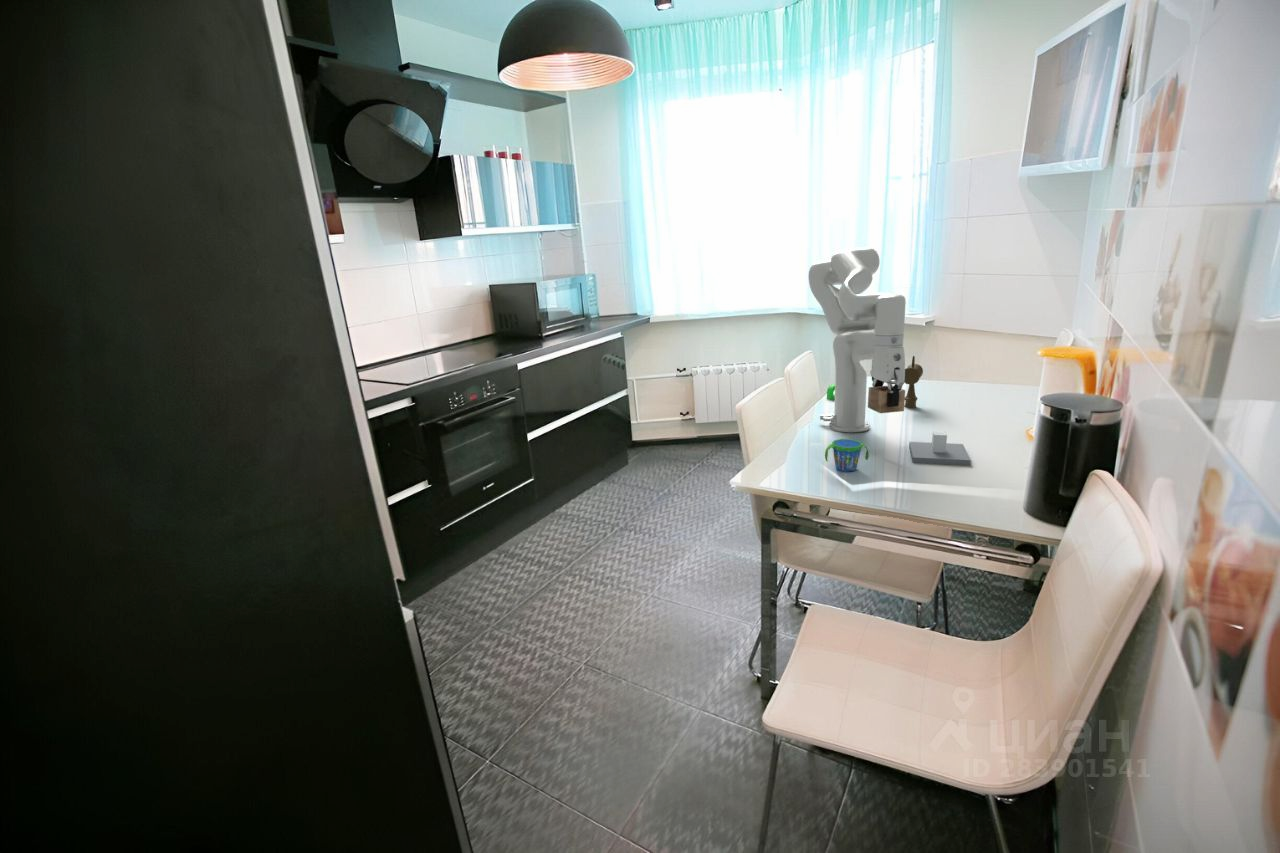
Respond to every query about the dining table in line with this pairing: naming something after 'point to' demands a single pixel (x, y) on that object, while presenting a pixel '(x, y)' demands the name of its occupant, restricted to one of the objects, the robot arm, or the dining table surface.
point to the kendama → (912, 383)
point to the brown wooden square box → (883, 400)
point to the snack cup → (846, 454)
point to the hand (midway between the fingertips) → (885, 402)
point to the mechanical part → (831, 392)
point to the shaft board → (939, 458)
